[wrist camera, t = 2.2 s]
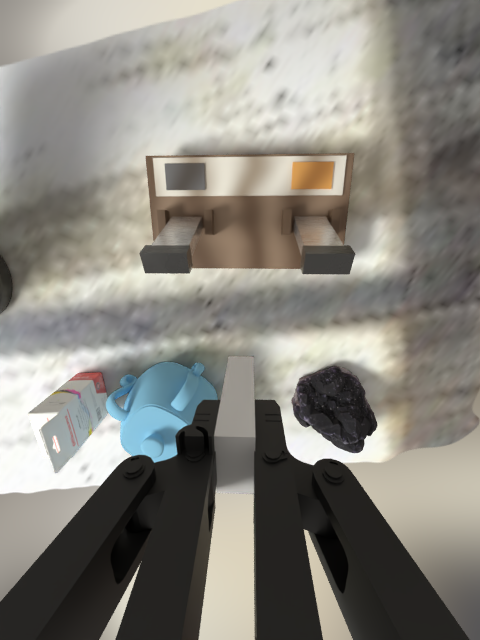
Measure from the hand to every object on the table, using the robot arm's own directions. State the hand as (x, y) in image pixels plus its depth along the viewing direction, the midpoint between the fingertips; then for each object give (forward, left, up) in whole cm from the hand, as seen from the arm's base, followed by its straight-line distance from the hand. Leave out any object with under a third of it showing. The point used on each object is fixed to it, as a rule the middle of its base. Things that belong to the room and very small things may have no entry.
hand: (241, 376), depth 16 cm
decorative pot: (-13, -20, -29) cm, 37 cm away
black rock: (+15, -20, -29) cm, 38 cm away
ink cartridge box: (-29, -20, -29) cm, 45 cm away
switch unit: (0, +11, -28) cm, 30 cm away
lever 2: (+8, +10, -23) cm, 26 cm away
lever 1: (-8, +10, -23) cm, 26 cm away
